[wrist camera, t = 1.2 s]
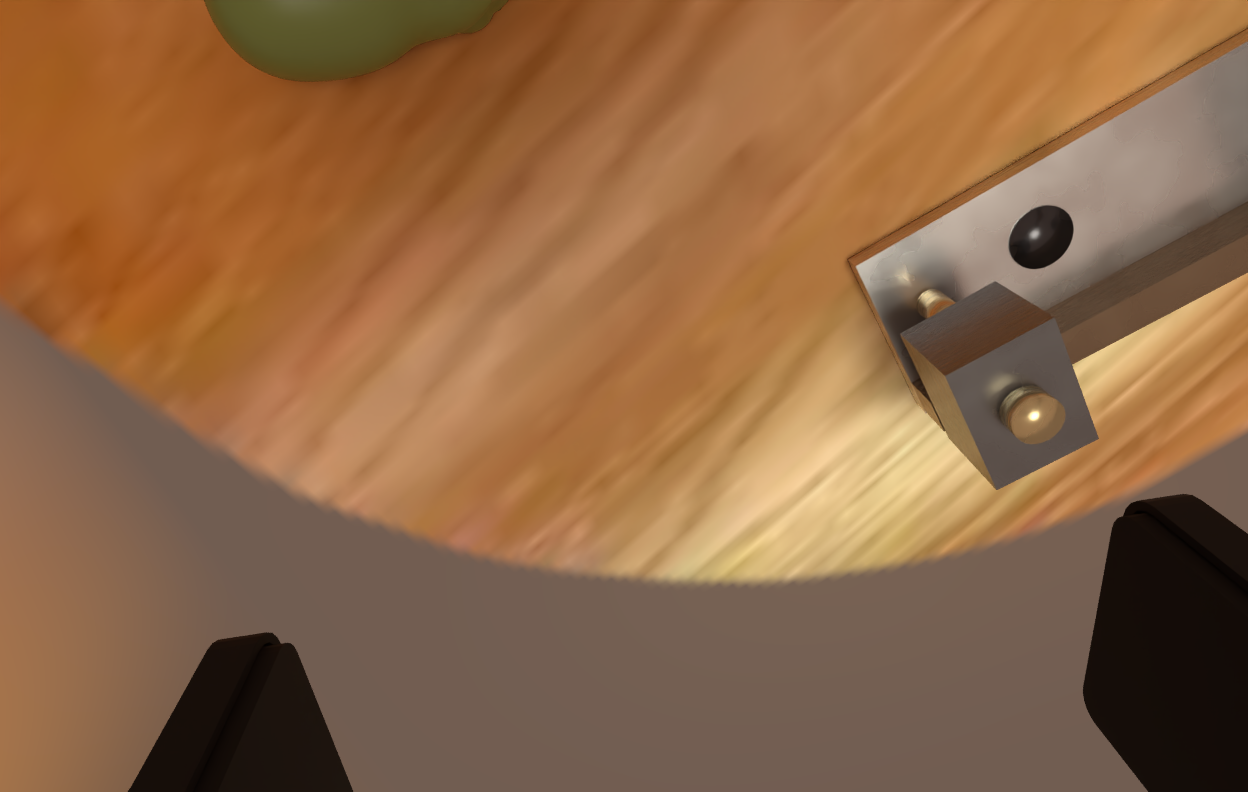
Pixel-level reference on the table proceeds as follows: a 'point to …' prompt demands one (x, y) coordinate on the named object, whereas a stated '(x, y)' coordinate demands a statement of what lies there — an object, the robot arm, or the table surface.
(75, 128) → the table surface
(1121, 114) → the bolt plate
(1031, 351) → the grey block with knob
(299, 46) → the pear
